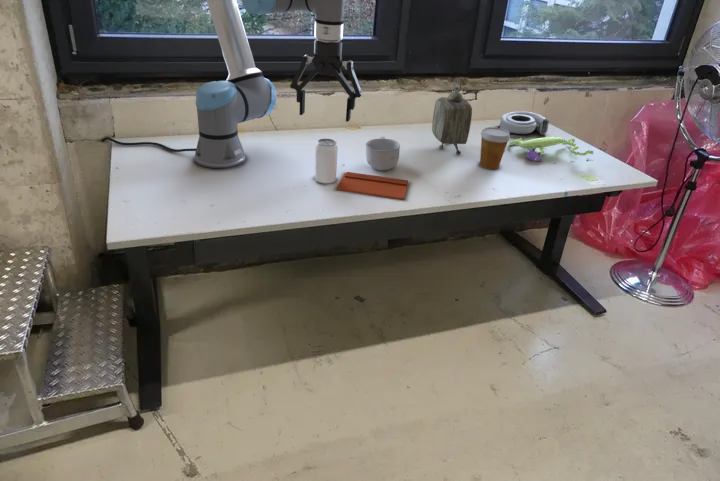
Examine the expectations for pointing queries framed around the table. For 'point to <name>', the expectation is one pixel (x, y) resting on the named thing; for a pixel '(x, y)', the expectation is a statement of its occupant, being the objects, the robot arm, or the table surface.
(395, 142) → the teacup
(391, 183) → the orange envelope wallet
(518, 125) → the turbocharger housing
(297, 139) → the table surface
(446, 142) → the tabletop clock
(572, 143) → the figurine
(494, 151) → the disposable coffee cup
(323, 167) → the can
